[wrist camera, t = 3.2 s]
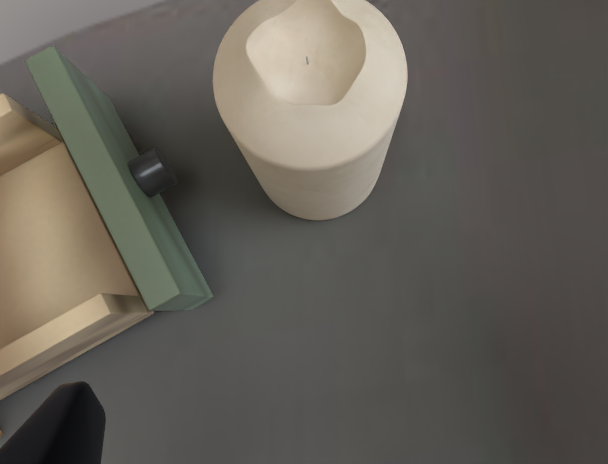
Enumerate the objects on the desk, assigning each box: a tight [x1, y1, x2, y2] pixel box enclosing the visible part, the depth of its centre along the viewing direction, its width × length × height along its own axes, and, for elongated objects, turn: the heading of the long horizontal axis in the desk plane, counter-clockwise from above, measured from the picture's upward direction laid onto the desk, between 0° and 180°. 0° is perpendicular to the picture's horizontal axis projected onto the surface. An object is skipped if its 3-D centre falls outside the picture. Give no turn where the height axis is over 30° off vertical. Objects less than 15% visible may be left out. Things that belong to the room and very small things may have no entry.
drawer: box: [0, 46, 213, 400], centre depth 20 cm, size 13×10×5 cm
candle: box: [213, 0, 407, 220], centre depth 18 cm, size 6×6×10 cm
